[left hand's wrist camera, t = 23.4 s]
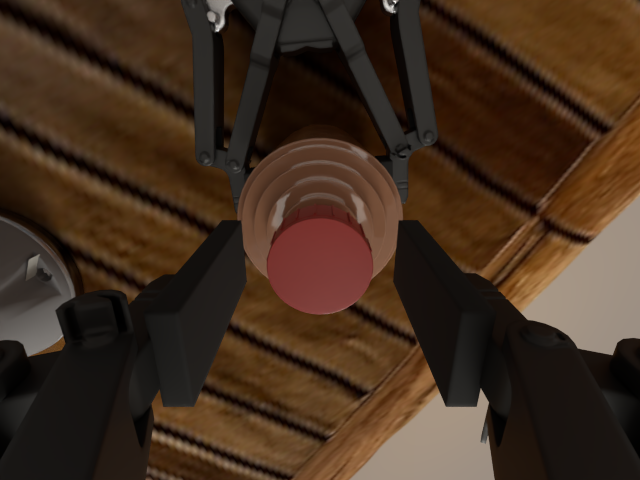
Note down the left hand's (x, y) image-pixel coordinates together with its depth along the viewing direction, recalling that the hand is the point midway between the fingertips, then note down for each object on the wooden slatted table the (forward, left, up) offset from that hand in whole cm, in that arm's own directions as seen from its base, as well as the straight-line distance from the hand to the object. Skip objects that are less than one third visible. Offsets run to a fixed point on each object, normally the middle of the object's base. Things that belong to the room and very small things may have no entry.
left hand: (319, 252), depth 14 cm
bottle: (0, 0, -17) cm, 17 cm away
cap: (0, 0, +1) cm, 1 cm away
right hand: (+3, -4, -11) cm, 12 cm away
